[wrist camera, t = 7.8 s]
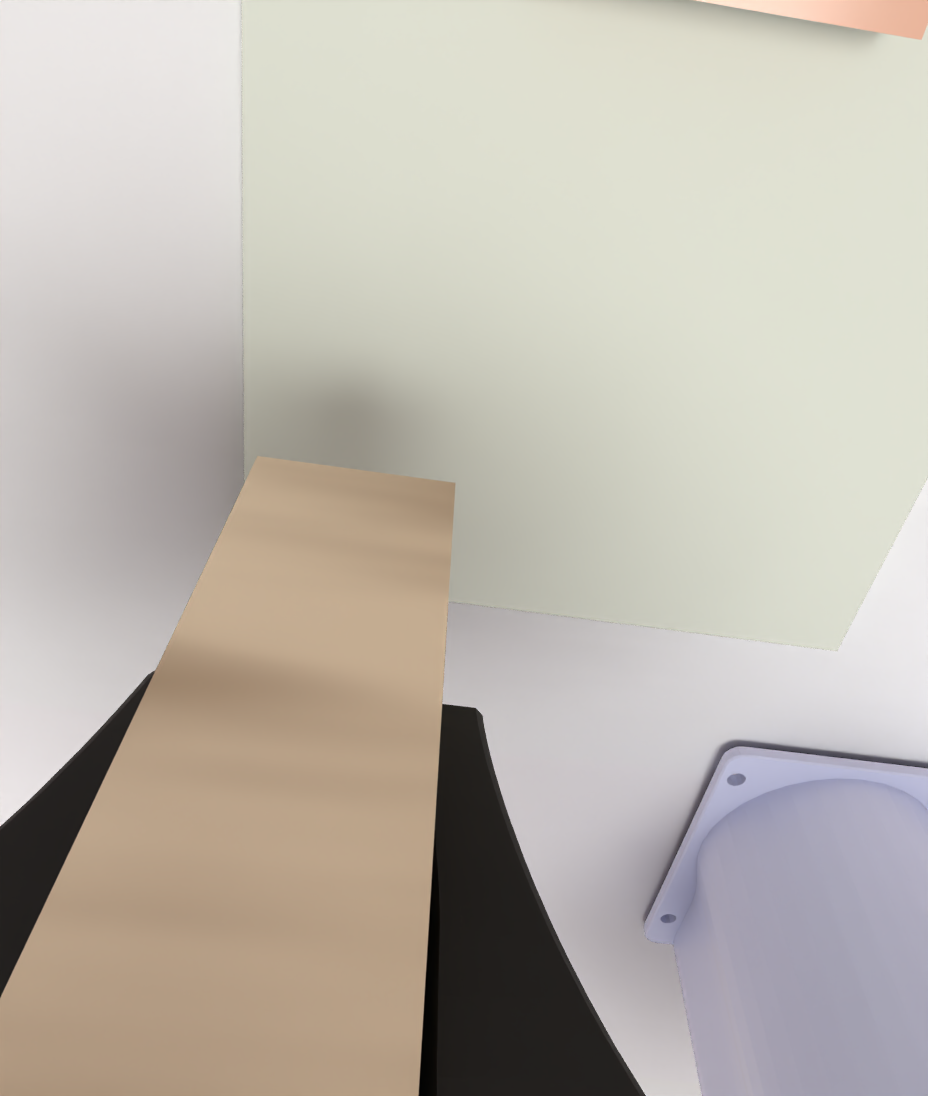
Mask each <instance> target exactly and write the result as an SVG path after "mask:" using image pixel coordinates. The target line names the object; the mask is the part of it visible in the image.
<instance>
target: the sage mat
mask: <svg viewBox="0 0 928 1096" xmlns="http://www.w3.org/2000/svg"><path fill="white" fill-rule="evenodd" d="M241 1H242V201H243V401H244V483H245V481H246V479H247V477H248V475H249V472H250V470H251V468H252V466H253V464H254V462H255V460H256V458H257V456H261V457H269V458H276V459H284V460H291V461H298V462H306V463H313V464H320V465H328V466H335V467H342V468H350V469H357V470H364V471H372V472H379V473H387V474H394V475H401V476H409V477H416V478H423V479H431V480H438V481H445V482H453V483H455V500H454V516H453V533H452V549H451V566H450V582H449V599H448V602H454V603H462V604H470V605H478V606H486V607H494V608H501V609H509V610H517V611H525V612H533V613H541V614H548V615H556V616H564V617H572V618H580V619H588V620H595V621H603V622H611V623H619V624H627V625H635V626H642V627H650V628H658V629H666V630H674V631H682V632H689V633H697V634H705V635H713V636H721V637H729V638H736V639H744V640H752V641H760V642H768V643H776V644H784V645H791V646H799V647H807V648H815V649H823V650H831V651H837V650H838V648H839V647H840V645H841V643H842V641H843V639H844V637H845V635H846V633H847V631H848V629H849V627H850V626H851V624H852V622H853V620H854V618H855V616H856V614H857V612H858V610H859V608H860V606H861V605H862V603H863V601H864V599H865V597H866V595H867V593H868V591H869V589H870V587H871V585H872V584H873V582H874V580H875V578H876V576H877V574H878V572H879V570H880V568H881V566H882V564H883V562H884V561H885V559H886V557H887V555H888V553H889V551H890V549H891V547H892V545H893V543H894V541H895V540H896V538H897V536H898V534H899V532H900V530H901V528H902V526H903V524H904V522H905V520H906V519H907V517H908V515H909V513H910V511H911V509H912V507H913V505H914V503H915V501H916V499H917V497H918V496H919V494H920V492H921V490H922V488H923V486H924V484H925V482H926V480H927V478H928V25H927V27H926V30H925V32H924V35H923V37H922V40H919V39H913V38H907V37H901V36H895V35H889V34H883V33H877V32H871V31H866V30H860V29H854V28H848V27H843V26H837V25H831V24H825V23H820V22H814V21H808V20H803V19H797V18H791V17H785V16H780V15H774V14H768V13H763V12H757V11H751V10H745V9H740V8H734V7H728V6H722V5H717V4H711V3H705V2H700V1H694V0H241Z"/></svg>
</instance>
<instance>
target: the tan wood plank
mask: <svg viewBox="0 0 928 1096" xmlns="http://www.w3.org/2000/svg"><path fill="white" fill-rule="evenodd" d="M454 500H455V483H453V482H445V481H438V480H431V479H423V478H416V477H409V476H401V475H394V474H387V473H379V472H372V471H364V470H357V469H350V468H342V467H335V466H328V465H320V464H313V463H306V462H298V461H291V460H284V459H276V458H269V457H261V456H257V458H256V460H255V462H254V464H253V466H252V468H251V470H250V472H249V475H248V477H247V479H246V481H245V483H244V485H243V487H242V489H241V491H240V494H239V496H238V498H237V500H236V502H235V504H234V506H233V508H232V510H231V513H230V515H229V517H228V519H227V521H226V523H225V525H224V527H223V529H222V532H221V534H220V536H219V538H218V540H217V542H216V544H215V546H214V548H213V551H212V553H211V555H210V557H209V559H208V561H207V563H206V565H205V567H204V569H203V572H202V574H201V576H200V578H199V580H198V582H197V584H196V586H195V588H194V591H193V593H192V595H191V597H190V599H189V601H188V603H187V605H186V607H185V610H184V612H183V614H182V616H181V618H180V620H179V622H178V624H177V626H176V629H175V631H174V633H173V635H172V637H171V639H170V641H169V643H168V645H167V647H166V650H165V652H164V654H163V656H162V658H161V660H160V662H159V664H158V666H157V669H156V671H155V673H154V675H153V677H152V679H151V681H150V683H149V685H148V688H147V690H146V692H145V694H144V696H143V698H142V700H141V702H140V704H139V707H138V709H137V711H136V713H135V715H134V717H133V719H132V721H131V723H130V726H129V728H128V730H127V732H126V734H125V736H124V738H123V740H122V742H121V744H120V747H119V749H118V751H117V753H116V755H115V757H114V759H113V761H112V763H111V766H110V768H109V770H108V772H107V774H106V776H105V778H104V780H103V782H102V785H101V787H100V789H99V791H98V793H97V795H96V797H95V799H94V801H93V804H92V806H91V808H90V810H89V812H88V814H87V816H86V818H85V820H84V823H83V825H82V827H81V829H80V831H79V833H78V835H77V837H76V839H75V841H74V844H73V846H72V848H71V850H70V852H69V854H68V856H67V858H66V860H65V863H64V865H63V867H62V869H61V871H60V873H59V875H58V877H57V879H56V882H55V884H54V886H53V888H52V890H51V892H50V894H49V896H48V898H47V901H46V903H45V905H44V907H43V909H42V911H41V913H40V915H39V917H38V919H37V922H36V924H35V926H34V928H33V930H32V932H31V934H30V936H29V938H28V941H27V943H26V945H25V947H24V949H23V951H22V953H21V955H20V957H19V960H18V962H17V964H16V966H15V968H14V970H13V972H12V974H11V976H10V979H9V981H8V983H7V985H6V987H5V989H4V991H3V993H2V995H1V998H0V1096H418V1095H419V1079H420V1062H421V1046H422V1029H423V1013H424V996H425V979H426V963H427V946H428V930H429V913H430V897H431V880H432V864H433V847H434V831H435V814H436V797H437V781H438V764H439V748H440V731H441V715H442V698H443V682H444V665H445V649H446V632H447V615H448V599H449V582H450V566H451V549H452V533H453V516H454Z"/></svg>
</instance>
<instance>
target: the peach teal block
mask: <svg viewBox="0 0 928 1096" xmlns="http://www.w3.org/2000/svg"><path fill="white" fill-rule="evenodd" d="M694 1H700V2H705V3H711V4H717V5H722V6H728V7H734V8H740V9H745V10H751V11H757V12H763V13H768V14H774V15H780V16H785V17H791V18H797V19H803V20H808V21H814V22H820V23H825V24H831V25H837V26H843V27H848V28H854V29H860V30H866V31H871V32H877V33H883V34H889V35H895V36H901V37H907V38H913V39H919V40H922V37H923V35H924V32H925V30H926V27H927V25H928V0H694Z"/></svg>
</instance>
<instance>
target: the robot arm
mask: <svg viewBox="0 0 928 1096" xmlns="http://www.w3.org/2000/svg"><path fill="white" fill-rule="evenodd" d="M155 671H156V670H155ZM155 671H154V672H152V673H150V674H149V675H148V676H147V677H146V678H145V679H144V680H143V681H142V682H141V684H140V685H139V686H138V687H137V688H136V689H135V690H134V692H133V693H132V694H131V695H130V696H129V697H128V698H127V699H126V701H125V702H124V703H123V704H122V705H121V706H120V707H119V708H118V710H117V711H116V712H115V713H114V714H113V715H112V716H111V717H110V718H109V719H108V720H107V722H106V723H105V724H104V725H103V726H102V727H101V728H100V729H99V730H98V731H97V732H96V733H95V734H94V735H93V736H92V737H91V739H90V740H89V741H88V742H87V743H86V744H85V745H84V746H83V747H82V748H81V749H80V750H79V751H78V752H77V753H76V754H75V755H74V756H73V757H72V758H71V759H70V760H69V761H68V762H67V763H66V764H65V765H64V766H63V767H62V768H61V769H60V770H59V771H58V772H57V773H56V774H55V775H54V776H53V777H52V778H51V779H50V780H49V781H48V782H47V783H46V784H45V785H44V786H43V787H42V788H41V789H40V790H39V791H38V792H37V793H36V794H35V795H34V796H33V797H32V798H31V799H30V800H29V801H28V802H27V803H26V804H25V805H23V806H22V807H21V808H20V809H19V810H18V811H17V812H16V813H15V814H14V815H12V816H11V817H10V818H9V819H8V820H7V821H6V822H5V823H4V824H3V825H1V826H0V998H1V995H2V993H3V991H4V989H5V987H6V985H7V983H8V981H9V979H10V976H11V974H12V972H13V970H14V968H15V966H16V964H17V962H18V960H19V957H20V955H21V953H22V951H23V949H24V947H25V945H26V943H27V941H28V938H29V936H30V934H31V932H32V930H33V928H34V926H35V924H36V922H37V919H38V917H39V915H40V913H41V911H42V909H43V907H44V905H45V903H46V901H47V898H48V896H49V894H50V892H51V890H52V888H53V886H54V884H55V882H56V879H57V877H58V875H59V873H60V871H61V869H62V867H63V865H64V863H65V860H66V858H67V856H68V854H69V852H70V850H71V848H72V846H73V844H74V841H75V839H76V837H77V835H78V833H79V831H80V829H81V827H82V825H83V823H84V820H85V818H86V816H87V814H88V812H89V810H90V808H91V806H92V804H93V801H94V799H95V797H96V795H97V793H98V791H99V789H100V787H101V785H102V782H103V780H104V778H105V776H106V774H107V772H108V770H109V768H110V766H111V763H112V761H113V759H114V757H115V755H116V753H117V751H118V749H119V747H120V744H121V742H122V740H123V738H124V736H125V734H126V732H127V730H128V728H129V726H130V723H131V721H132V719H133V717H134V715H135V713H136V711H137V709H138V707H139V704H140V702H141V700H142V698H143V696H144V694H145V692H146V690H147V688H148V685H149V683H150V681H151V679H152V677H153V675H154V673H155ZM733 774H735V775H733ZM644 932H645V936H646V938H647V939H648V940H650V941H652V942H655V943H664V944H673V946H674V951H675V956H676V962H677V967H678V972H679V977H680V983H681V988H682V993H683V999H684V1004H685V1009H686V1015H687V1020H688V1025H689V1031H690V1036H691V1041H692V1046H693V1052H694V1057H695V1062H696V1068H697V1073H698V1078H699V1084H700V1089H701V1094H702V1096H928V768H920V767H911V766H903V765H895V764H886V763H878V762H870V761H861V760H853V759H845V758H836V757H828V756H820V755H811V754H803V753H794V752H786V751H778V750H769V749H761V748H753V747H744V746H740V747H734V748H731V749H729V750H728V751H726V752H725V753H724V755H723V756H722V758H721V760H720V762H719V764H718V766H717V768H716V771H715V773H714V775H713V777H712V779H711V781H710V784H709V786H708V788H707V790H706V792H705V794H704V797H703V799H702V801H701V803H700V805H699V807H698V809H697V812H696V814H695V816H694V818H693V820H692V822H691V825H690V827H689V829H688V831H687V833H686V835H685V837H684V840H683V842H682V844H681V846H680V848H679V850H678V853H677V855H676V857H675V859H674V861H673V863H672V865H671V868H670V870H669V872H668V874H667V876H666V878H665V881H664V883H663V885H662V887H661V889H660V891H659V893H658V896H657V898H656V900H655V902H654V904H653V906H652V909H651V911H650V913H649V915H648V917H647V919H646V921H645V924H644ZM418 1096H646V1095H645V1094H644V1092H643V1091H642V1089H641V1087H640V1086H639V1084H638V1082H637V1081H636V1079H635V1078H634V1076H633V1074H632V1073H631V1071H630V1069H629V1068H628V1066H627V1065H626V1063H625V1061H624V1060H623V1058H622V1056H621V1055H620V1053H619V1052H618V1050H617V1048H616V1047H615V1045H614V1043H613V1041H612V1040H611V1038H610V1036H609V1034H608V1032H607V1031H606V1029H605V1027H604V1025H603V1023H602V1022H601V1020H600V1018H599V1016H598V1014H597V1012H596V1011H595V1009H594V1007H593V1005H592V1003H591V1002H590V1000H589V998H588V996H587V994H586V992H585V990H584V988H583V986H582V984H581V983H580V981H579V979H578V977H577V975H576V973H575V971H574V969H573V967H572V965H571V963H570V961H569V959H568V957H567V955H566V953H565V951H564V949H563V947H562V945H561V943H560V940H559V938H558V936H557V934H556V932H555V930H554V928H553V925H552V923H551V921H550V919H549V917H548V914H547V912H546V910H545V907H544V905H543V903H542V900H541V898H540V896H539V894H538V891H537V889H536V887H535V884H534V882H533V879H532V877H531V874H530V872H529V869H528V867H527V864H526V862H525V860H524V857H523V854H522V851H521V849H520V846H519V843H518V840H517V838H516V835H515V832H514V830H513V827H512V824H511V821H510V819H509V816H508V813H507V810H506V807H505V804H504V801H503V798H502V795H501V791H500V788H499V785H498V781H497V778H496V775H495V771H494V767H493V764H492V760H491V756H490V752H489V748H488V744H487V739H486V734H485V729H484V723H483V716H482V714H481V713H480V712H479V711H478V710H477V709H476V708H471V707H462V706H454V705H446V704H442V715H441V731H440V748H439V764H438V781H437V797H436V814H435V831H434V847H433V864H432V880H431V897H430V913H429V930H428V946H427V963H426V979H425V996H424V1013H423V1029H422V1046H421V1062H420V1079H419V1095H418Z"/></svg>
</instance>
